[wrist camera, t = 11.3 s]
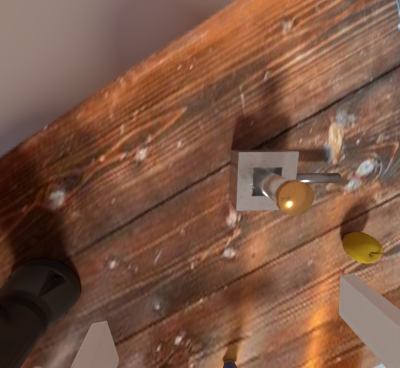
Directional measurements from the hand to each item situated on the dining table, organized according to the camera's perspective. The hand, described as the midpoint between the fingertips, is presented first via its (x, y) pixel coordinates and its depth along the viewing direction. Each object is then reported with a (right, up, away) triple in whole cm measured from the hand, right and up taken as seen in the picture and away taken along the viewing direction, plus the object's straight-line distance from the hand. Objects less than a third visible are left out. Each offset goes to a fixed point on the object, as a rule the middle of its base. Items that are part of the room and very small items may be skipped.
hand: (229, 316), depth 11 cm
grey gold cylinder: (+10, +9, +29) cm, 32 cm away
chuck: (+15, +9, +32) cm, 36 cm away
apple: (+34, -6, +37) cm, 51 cm away
